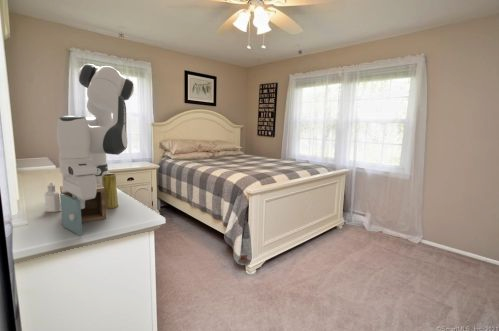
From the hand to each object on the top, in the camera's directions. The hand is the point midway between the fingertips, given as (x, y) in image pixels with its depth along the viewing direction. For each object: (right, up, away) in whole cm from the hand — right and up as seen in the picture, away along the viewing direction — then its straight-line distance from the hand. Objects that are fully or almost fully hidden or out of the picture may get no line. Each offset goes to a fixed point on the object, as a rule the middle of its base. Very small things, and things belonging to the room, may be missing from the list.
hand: (79, 207), depth 87 cm
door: (-4, -8, +1) cm, 8 cm away
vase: (-5, -4, +29) cm, 30 cm away
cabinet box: (-8, -6, +14) cm, 17 cm away
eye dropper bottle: (-25, -5, +21) cm, 33 cm away
